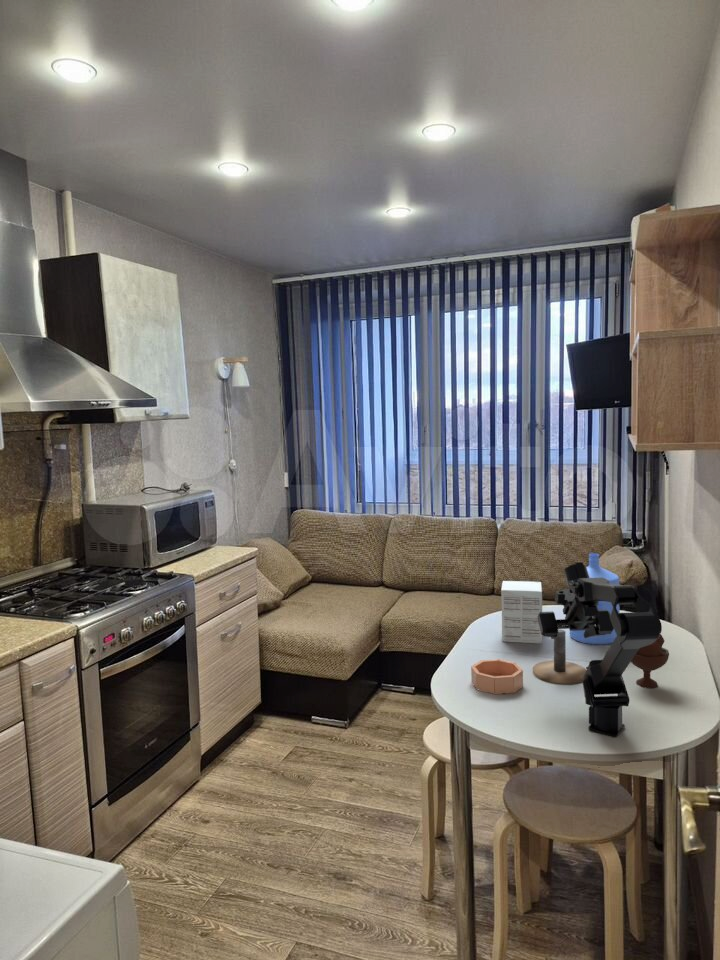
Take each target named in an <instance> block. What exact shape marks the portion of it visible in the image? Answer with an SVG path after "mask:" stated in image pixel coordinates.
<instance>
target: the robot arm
mask: <svg viewBox="0 0 720 960" xmlns="http://www.w3.org/2000/svg"><path fill="white" fill-rule="evenodd" d="M586 567H587V566H586V565H585V564H584V562H583V561H576V562H574V564H571V565H568V566H566V567H565V568H564V569H563V572H564V576H565V579H566V580H565V581H566V584H567V588H563V589H562V590H556V591H555V593H554V600H555V603H556V605H561V606H563V609H562V613H563V615H565V616H564V618H563V619H560V618H559V619H556V615H555V614H556V613H555V612H554V611H542V612H540V613H539V614H538V617H537V618H538V622H539V627H540V631H541V635H542V637H547V638H550V640H554V638H556V637H557V634H558V629H559V630H569V632H570V631H580V630H585V632H584V638H590V637H595V636H600V635H606V634H611V633H612V631H613V630H615V632H616V635H617V636H616V638H615V640H614V641H613V643H611V644H610V646H609V648H608V650H607V652H606V653H605V655H604V657H603V659H591V660H590V661H589V663H588V666H586V667H585V669H586V670H587V671H586V672H585V675H584V676H583V681H582V682H581V683H582V687H583V694H584V698H585V700H584V701H585V705H588V724H589V726H588V727H587V728H588V731H591V732H592V731H593V732H596V733H600V734H603V735H607V736H610V737H613V738H617V737H618V736H619V734H621V732H622V731H623V730H624V729H625V728H626V725H625V724H623V707H629V704H630V697H629V694H628V690H627V686H626V684H625V681H624V677H623V674H624V672H625V671H626V669H627V668H628V666H629V665H630V664H631V660H632V659H633V657H634V656H635V654H636V653H637V651H638V650H639V648H641V647H644V646H647V645H650V644H652V643H654V642H655V641H656V640H657V639H658V638H659V636H660V634H661V633H662V631H663V630H662V628H663V627H662V622H661V619H660V617H659V615H658V614H657V611H656V610H655V609H656V608H654V605H652V604H651V602H649V601H647V600H646V599H645V598H644V597H642V595H640V593H639V591H638V589H637V588H636V586H633V585H628V584H626V585H623V584H620V585H616V584H609V581H608V580H607V579H605V578H603V577H602V578H589V575H588V571H587V568H586ZM598 601H607V602H611V604H612V606H613V608H612V612H611V615H610V612H609V611H607V610H598V607H597V606H598V604H599V603H598ZM617 605H619V606H620V605H632V606H633V608H634V609H636V610H637V612H632V611H631V612H620V613H618V611H617V609H616V606H617ZM597 695H599V696H597ZM600 695H601V696H600Z"/></svg>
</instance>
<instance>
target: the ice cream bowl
mask: <svg viewBox="0 0 720 960" xmlns="http://www.w3.org/2000/svg"><path fill="white" fill-rule="evenodd" d="M664 643H665V639H664V637H663V635H662V634H661V633H660V636H659V638H658V639H657V640H656V641H655V642H654V643H652V644H650V645H647V646H644V647H641V648H639V650H638V651H637V653H636V654H635V656H634V657H633V659H632V660H631V662H630V664H632V665H633V666H635V667H636V668H638V669H639V670H642V671H643V672H642V673H643V677H641V678H638V679H637V680H636V681H635V684H636V685H637V686H639V687H640V686H641V687H642V688H645V687H646V689H653V688H652V687H655V688H657V687H656V686H658V682H657V681H656V680H654V679H652V678H651V673H652V671H655V670H658V669H660V668H662V667H664V665H666V664H667V662H668V660H669V657H670V652H669V650H668V649H667V648H665V647H663V645H664Z"/></svg>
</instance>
